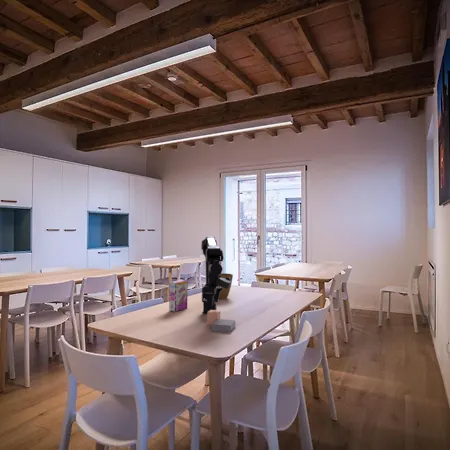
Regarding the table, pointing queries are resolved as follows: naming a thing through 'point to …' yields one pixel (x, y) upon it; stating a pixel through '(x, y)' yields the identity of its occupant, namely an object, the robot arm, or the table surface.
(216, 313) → the cube
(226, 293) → the plant pot
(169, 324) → the table surface
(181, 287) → the candy bar box
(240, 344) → the table surface
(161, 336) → the table surface
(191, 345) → the table surface
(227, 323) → the plinth
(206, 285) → the robot arm
